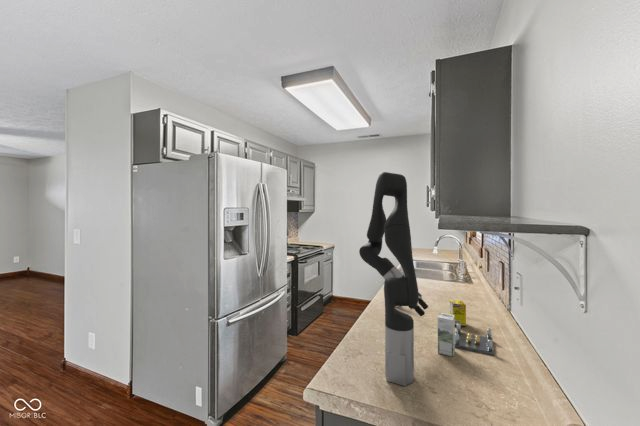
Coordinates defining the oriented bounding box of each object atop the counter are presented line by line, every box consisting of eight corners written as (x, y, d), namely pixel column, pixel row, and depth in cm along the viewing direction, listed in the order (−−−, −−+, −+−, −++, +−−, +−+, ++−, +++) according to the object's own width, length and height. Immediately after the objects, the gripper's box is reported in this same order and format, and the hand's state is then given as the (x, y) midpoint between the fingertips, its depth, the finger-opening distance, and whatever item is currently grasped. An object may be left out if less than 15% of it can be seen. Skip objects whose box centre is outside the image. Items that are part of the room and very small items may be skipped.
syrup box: (455, 351, 111) (454, 314, 111) (453, 357, 106) (453, 319, 106) (439, 347, 114) (439, 311, 114) (437, 354, 109) (437, 316, 109)
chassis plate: (493, 355, 107) (493, 342, 107) (453, 347, 114) (453, 334, 114) (492, 340, 119) (492, 328, 119) (455, 333, 126) (455, 322, 126)
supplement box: (466, 327, 133) (466, 304, 133) (452, 326, 134) (452, 303, 134) (462, 322, 139) (462, 300, 139) (449, 321, 140) (449, 299, 140)
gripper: (398, 278, 112) (429, 311, 106) (406, 271, 124) (434, 300, 119) (385, 289, 114) (414, 323, 109) (394, 281, 127) (421, 311, 121)
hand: (425, 311), depth 114 cm, fingers open, 8 cm apart
